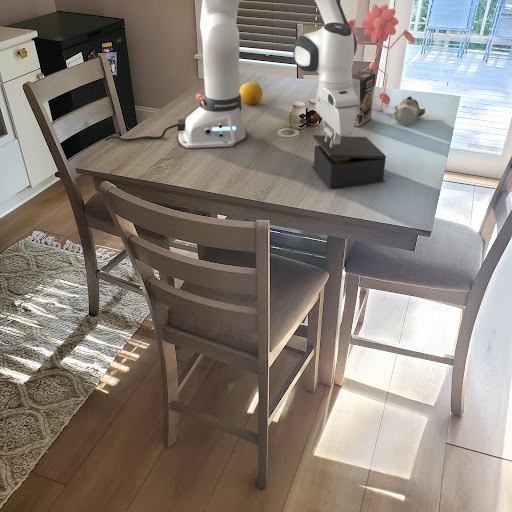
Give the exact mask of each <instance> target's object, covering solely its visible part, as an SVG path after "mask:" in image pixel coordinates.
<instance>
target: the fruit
mask: <svg viewBox="0 0 512 512" xmlns="http://www.w3.org/2000/svg"><path fill="white" fill-rule="evenodd" d="M239 93H240V94H241V102H243V103H244V104H246V105H255V104H258V103H260V101H261V100H262V97H263V89H262V87H261V86H260V84H258V83H257V82H255V81H247V82H246V83H243V84H242V85H241V86H239Z"/></svg>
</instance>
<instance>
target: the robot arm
mask: <svg viewBox="0 0 512 512" xmlns="http://www.w3.org/2000/svg"><path fill="white" fill-rule="evenodd" d="M201 1H202V3H201V11H200V21H199V22H200V23H199V29H200V35H201V42H202V43H201V44H202V59H203V61H202V63H203V79H204V80H203V81H204V94H202V93H197V94H196V96H195V97H196V100H197V101H198V102H199V106H198V107H197V108H196V109H195V110H194V111H192V112H191V113H190V114H188V116H187V117H186V118H185V119H184V118H183V119H179V118H178V120H177V123H176V124H173V125H169V126H168V127H165V128H164V130H163V131H162V134H161V135H159V136H150V135H146V136H145V135H144V136H138V137H133V138H124V137H121V136H116V135H110V136H107V137H105V139H104V141H105V142H106V141H109V140H111V139H116V140H119V141H123V142H132V141H138V140H144V139H151V140H159V139H162V138H164V136H165V134H166V132H167V131H169V130H170V129H172V128H177V131H178V132H179V133H178V141H179V143H180V145H181V146H182V147H184V148H186V149H199V148H200V149H201V148H227V147H233V146H235V145H236V143H238V142H241V141H243V140H244V139H245V138H246V137H247V136H246V134H247V133H246V131H245V127H244V124H243V119H242V107H243V104H242V102H243V101H242V100H241V94H240V93H239V90H240V31H239V27H238V24H237V20H238V13H239V7H240V2H241V0H201ZM314 2H315V4H316V5H317V8H318V11H319V13H320V16H321V18H322V21H323V23H324V25H323V26H322V27H321V28H320V29H317V30H315V31H311V32H308V33H304V34H302V35H300V36H298V37H297V38H296V40H295V41H294V45H293V50H292V51H293V52H292V55H293V60H294V62H295V64H296V66H297V67H298V68H299V69H300V70H302V71H304V72H311V73H312V72H316V73H317V74H318V79H317V80H318V81H317V89H316V93H315V105H314V109H315V112H316V114H317V115H319V117H321V119H322V123H323V134H324V135H326V132H325V128H326V127H328V126H329V127H331V128H332V129H333V130H334V133H335V134H334V137H333V138H332V142H333V143H334V144H340V139H341V136H351V135H352V134H353V132H354V131H355V125H354V124H355V113H356V111H355V106H354V105H357V104H358V97H357V95H356V93H355V91H354V89H353V85H352V75H353V73H352V68H353V65H354V62H355V55H356V54H357V50H358V42H357V38H356V33H355V32H354V31H353V28H352V29H351V28H350V26H349V24H348V20H347V18H346V14H345V13H344V10H343V7H342V4H341V2H340V0H314Z"/></svg>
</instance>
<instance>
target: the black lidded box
mask: <svg viewBox="0 0 512 512" xmlns="http://www.w3.org/2000/svg"><path fill="white" fill-rule="evenodd" d="M313 153H314V155H313V156H314V157H313V168H314V170H315V171H316V173H318V175H319V177H320V178H321V179H322V180H323V181H324V183H325V184H326V186H327V187H328V188H329V189H338V188H345V187H351V186H352V187H353V186H360V185H366V184H374V183H382V182H384V177H385V176H384V175H385V167H386V160H387V158H386V159H377V158H351V159H350V162H346V163H339V164H333V163H332V162H331V160H330V158H329V156H328V155H327V154H326V152H325V151H324V150H323V149H322V148H321V147H320V145H319V144H317V145H315V146H314V152H313Z"/></svg>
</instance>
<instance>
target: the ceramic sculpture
mask: <svg viewBox="0 0 512 512" xmlns="http://www.w3.org/2000/svg"><path fill="white" fill-rule="evenodd" d="M394 110H395V111H394V112H393V116H394V119H395V121H396V123H397V124H400V125H401V126H402V125H403V126H405V125H406V126H408V125H411V124H412V123H413V122H414V121H415V120H416V118H418V117H422V116H424V115H425V114H426V108H420V105H419V102H418V101H417V99H415V98H413V97H412V96H407V97H406V98H404V99H403V100H402V101H401V102H400V103H399V104H398V105H396V106H394Z"/></svg>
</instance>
